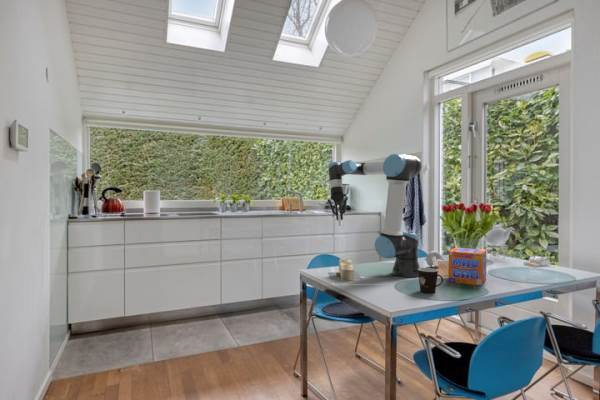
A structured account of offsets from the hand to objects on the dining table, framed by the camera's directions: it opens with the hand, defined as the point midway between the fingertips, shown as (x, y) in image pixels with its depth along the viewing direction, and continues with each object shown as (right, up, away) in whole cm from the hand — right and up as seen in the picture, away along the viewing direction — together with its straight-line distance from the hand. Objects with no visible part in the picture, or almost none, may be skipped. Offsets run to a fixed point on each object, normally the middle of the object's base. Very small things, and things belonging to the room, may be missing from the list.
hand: (340, 225), depth 219 cm
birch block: (-1, -19, -25) cm, 31 cm away
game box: (+61, -26, -34) cm, 75 cm away
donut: (+56, -25, -1) cm, 62 cm away
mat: (-1, -25, -26) cm, 36 cm away
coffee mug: (+33, -26, -57) cm, 71 cm away
